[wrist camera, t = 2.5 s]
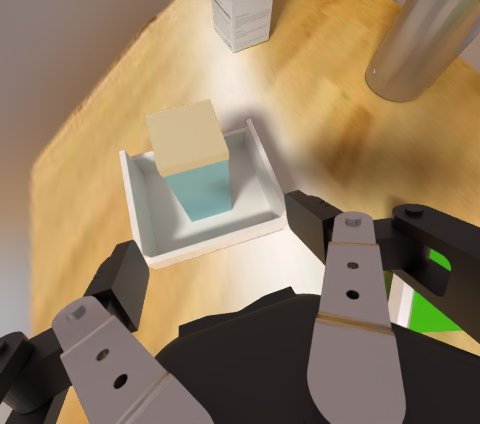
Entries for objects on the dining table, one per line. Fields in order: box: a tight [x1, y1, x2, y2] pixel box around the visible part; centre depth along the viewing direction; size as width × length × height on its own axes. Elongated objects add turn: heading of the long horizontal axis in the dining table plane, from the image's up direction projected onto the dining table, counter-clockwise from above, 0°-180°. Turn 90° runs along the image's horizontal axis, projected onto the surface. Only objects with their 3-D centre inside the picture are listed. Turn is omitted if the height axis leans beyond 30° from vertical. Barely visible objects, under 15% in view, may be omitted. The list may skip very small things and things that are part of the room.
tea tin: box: [145, 99, 232, 222], centre depth 22 cm, size 5×5×12 cm
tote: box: [119, 118, 288, 270], centre depth 26 cm, size 15×13×6 cm
